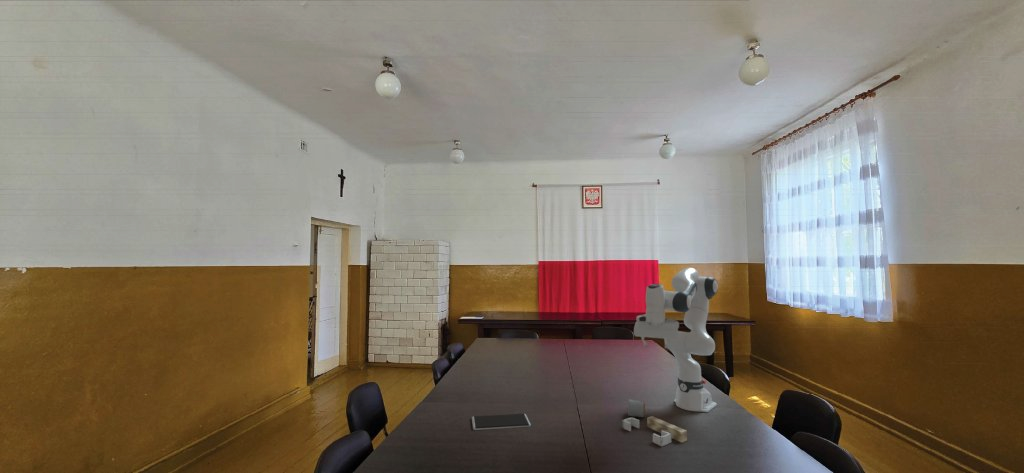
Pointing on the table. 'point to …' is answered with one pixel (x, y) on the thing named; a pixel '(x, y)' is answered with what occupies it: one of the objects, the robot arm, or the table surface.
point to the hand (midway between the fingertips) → (655, 347)
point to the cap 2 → (662, 438)
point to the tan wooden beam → (667, 428)
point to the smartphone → (500, 421)
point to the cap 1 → (630, 423)
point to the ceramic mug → (636, 408)
